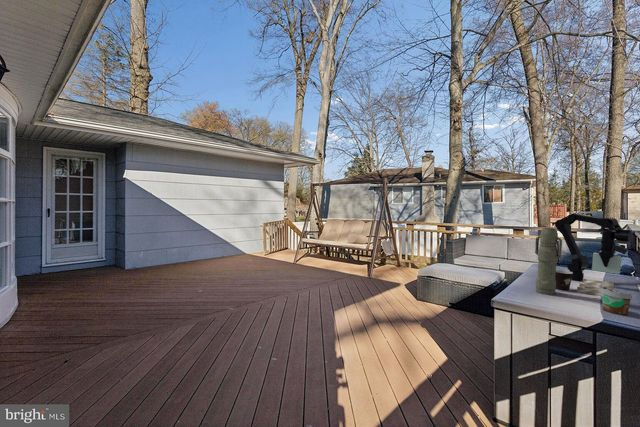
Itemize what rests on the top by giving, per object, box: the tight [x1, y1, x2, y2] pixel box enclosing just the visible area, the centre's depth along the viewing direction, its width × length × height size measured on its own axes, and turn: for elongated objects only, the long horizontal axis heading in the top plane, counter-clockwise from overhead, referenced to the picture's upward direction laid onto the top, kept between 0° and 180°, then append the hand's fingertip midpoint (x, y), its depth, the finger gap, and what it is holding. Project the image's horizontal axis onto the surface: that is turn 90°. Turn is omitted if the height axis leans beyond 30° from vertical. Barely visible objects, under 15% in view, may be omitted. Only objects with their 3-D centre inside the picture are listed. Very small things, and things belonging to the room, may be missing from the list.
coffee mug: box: [555, 269, 573, 292], centre depth 181 cm, size 12×9×10 cm
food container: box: [600, 286, 633, 316], centre depth 147 cm, size 12×6×10 cm, turn 5°
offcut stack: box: [584, 281, 603, 291], centre depth 176 cm, size 8×6×5 cm
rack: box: [576, 278, 615, 297], centre depth 181 cm, size 14×26×2 cm, turn 135°
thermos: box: [534, 227, 563, 296], centre depth 173 cm, size 9×12×35 cm
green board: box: [591, 252, 622, 275], centre depth 186 cm, size 12×4×10 cm, turn 45°
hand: (606, 266), depth 186 cm, fingers closed on green board, 4 cm apart
